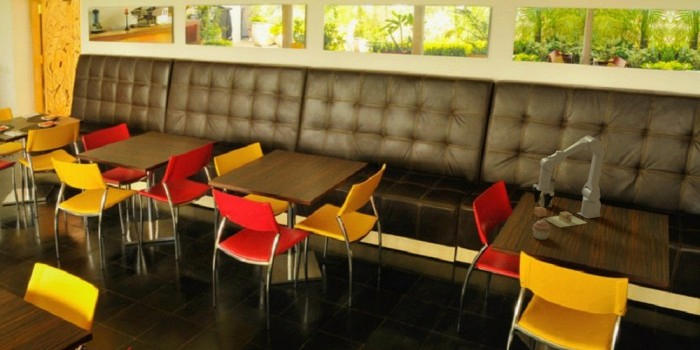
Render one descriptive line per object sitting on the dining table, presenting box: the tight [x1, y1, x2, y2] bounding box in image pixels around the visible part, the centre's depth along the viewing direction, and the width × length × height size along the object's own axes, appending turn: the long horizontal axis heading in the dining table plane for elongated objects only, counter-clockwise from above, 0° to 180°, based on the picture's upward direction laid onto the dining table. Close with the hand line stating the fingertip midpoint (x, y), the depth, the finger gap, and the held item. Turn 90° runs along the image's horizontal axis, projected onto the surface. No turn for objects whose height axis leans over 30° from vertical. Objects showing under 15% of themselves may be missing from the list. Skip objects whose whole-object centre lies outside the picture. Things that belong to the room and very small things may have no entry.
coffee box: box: [537, 175, 556, 208], centre depth 339 cm, size 9×6×16 cm
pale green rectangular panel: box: [542, 215, 588, 228], centre depth 317 cm, size 18×13×1 cm
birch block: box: [558, 211, 573, 222], centre depth 316 cm, size 4×4×4 cm
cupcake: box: [531, 218, 552, 241], centre depth 293 cm, size 9×9×10 cm
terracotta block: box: [533, 206, 547, 218], centre depth 324 cm, size 4×4×4 cm
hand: (541, 204), depth 323 cm, fingers open, 7 cm apart
